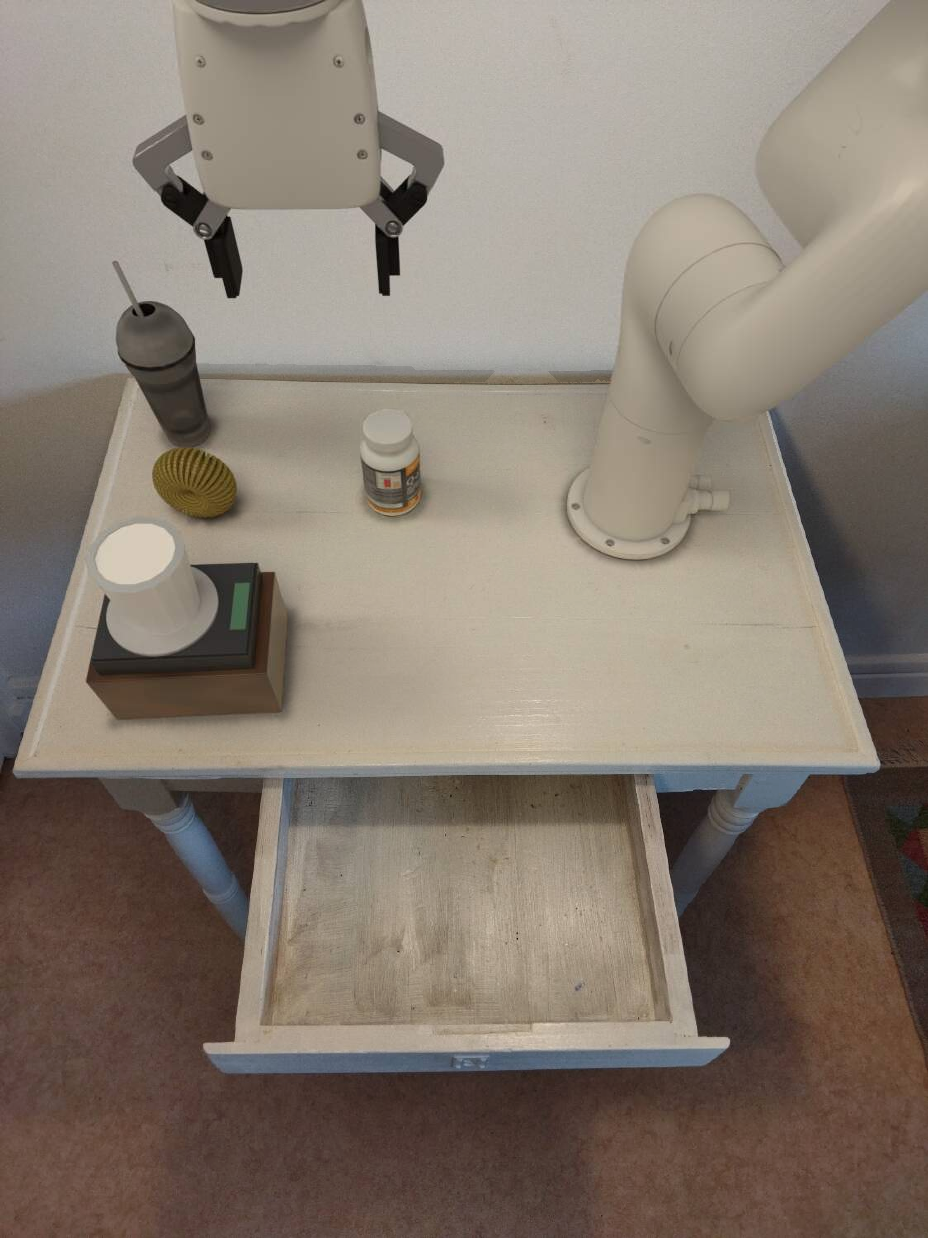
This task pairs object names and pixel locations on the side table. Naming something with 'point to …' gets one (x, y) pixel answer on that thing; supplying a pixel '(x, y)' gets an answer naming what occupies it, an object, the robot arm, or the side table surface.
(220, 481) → the sculpture
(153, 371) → the beverage cup
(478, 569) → the side table surface
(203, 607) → the kitchen scale
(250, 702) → the walnut riser
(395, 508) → the pill bottle
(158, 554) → the white cup
